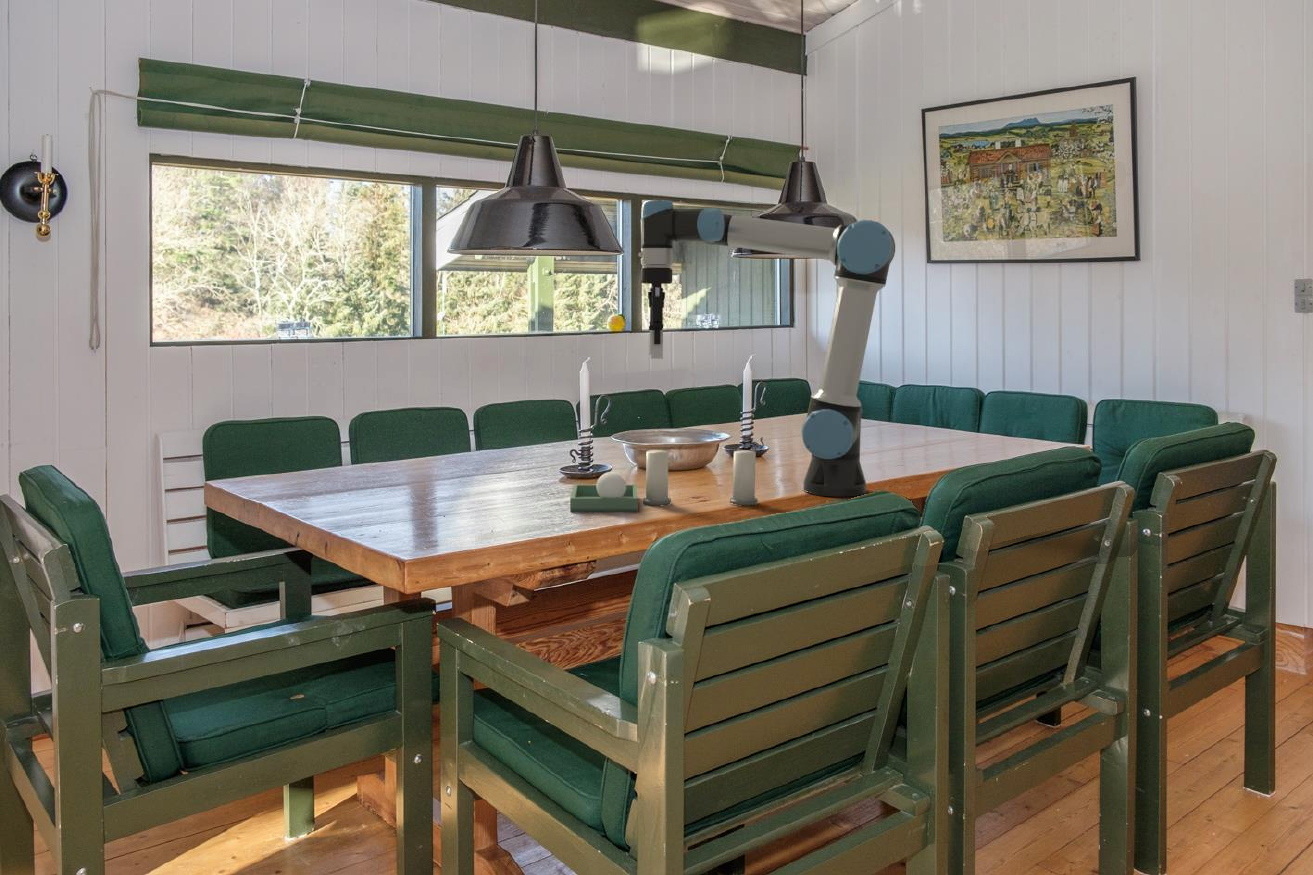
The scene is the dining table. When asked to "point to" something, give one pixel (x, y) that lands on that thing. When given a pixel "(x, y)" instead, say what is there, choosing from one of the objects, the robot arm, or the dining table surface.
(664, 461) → the candle
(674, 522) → the dining table surface
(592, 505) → the tray
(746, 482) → the candle
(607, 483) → the light bulb
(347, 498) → the dining table surface
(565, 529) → the dining table surface
